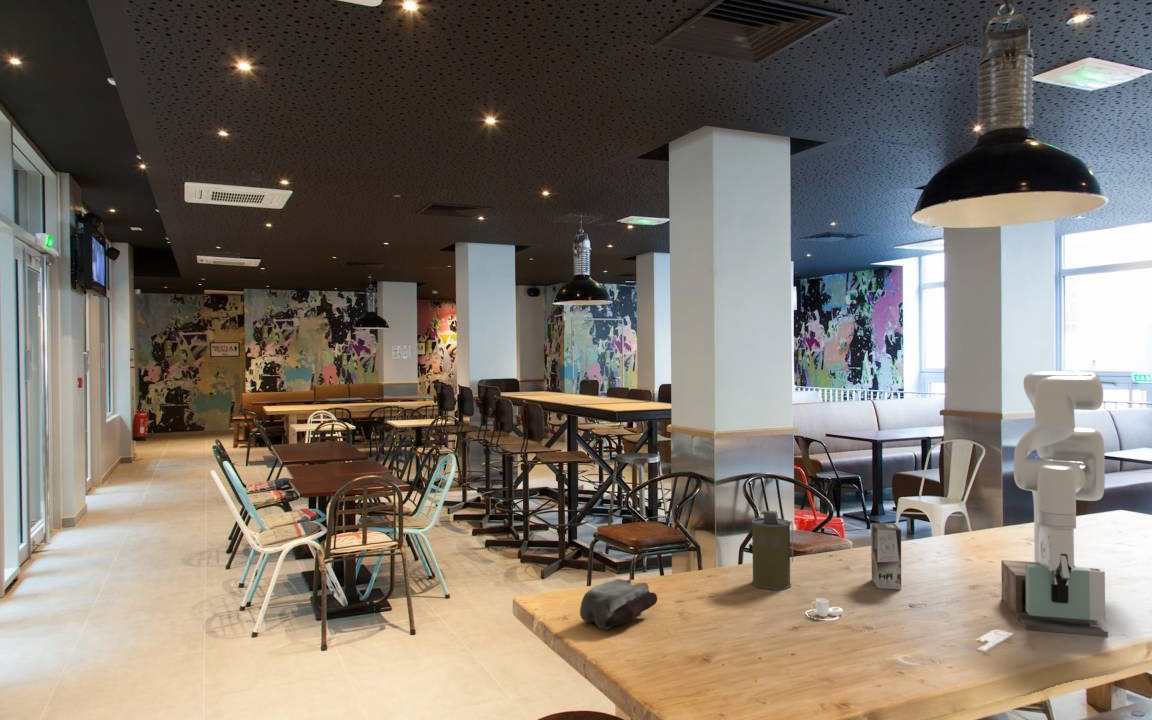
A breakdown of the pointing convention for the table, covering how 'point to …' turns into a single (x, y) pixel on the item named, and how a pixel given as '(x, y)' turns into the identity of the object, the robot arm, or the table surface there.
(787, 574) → the canister
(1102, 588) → the green and grey box
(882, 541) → the coffee box
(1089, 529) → the table surface
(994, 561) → the table surface
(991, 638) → the white plastic blade
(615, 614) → the rock
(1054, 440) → the robot arm
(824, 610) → the teacup and saucer
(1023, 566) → the cabinet
